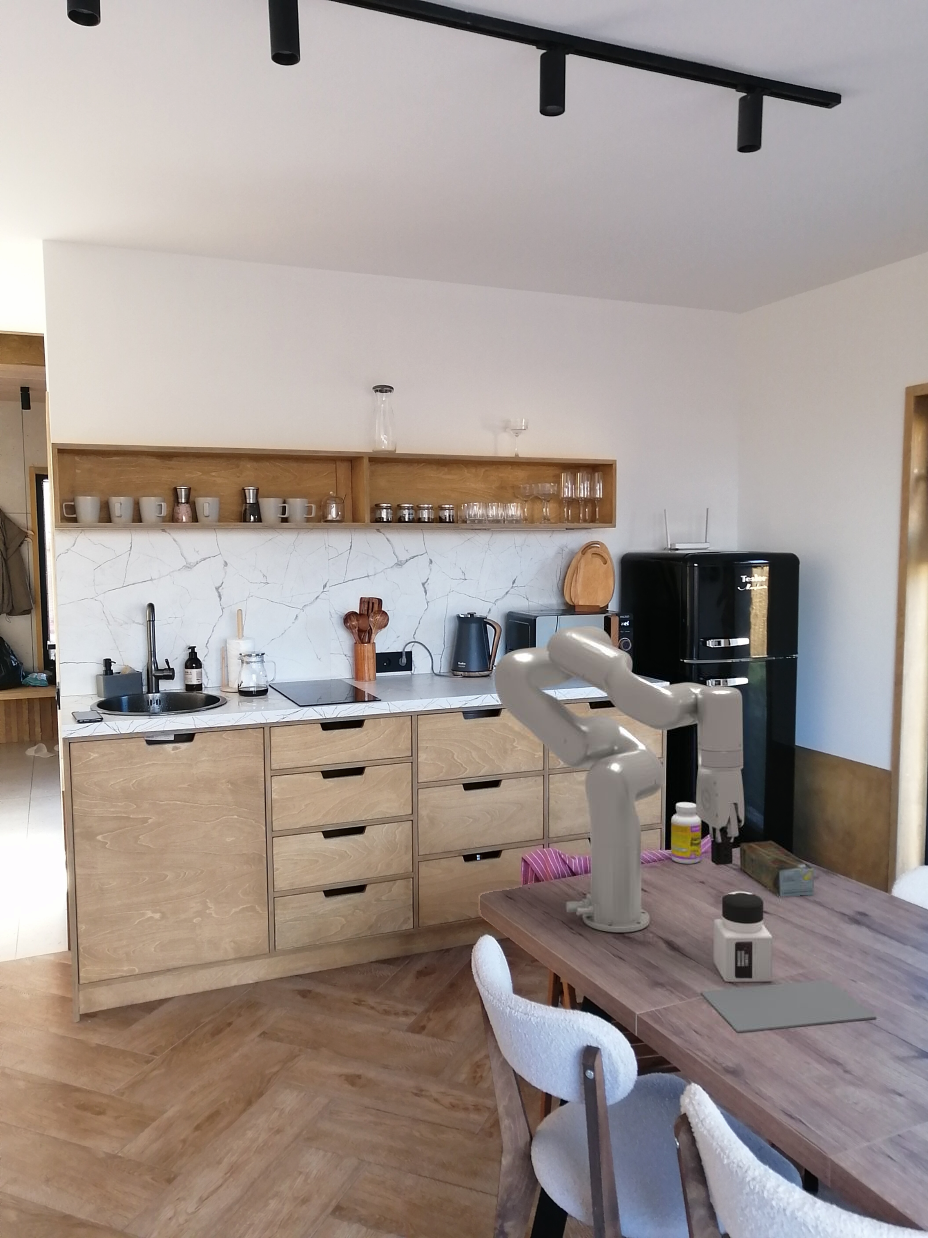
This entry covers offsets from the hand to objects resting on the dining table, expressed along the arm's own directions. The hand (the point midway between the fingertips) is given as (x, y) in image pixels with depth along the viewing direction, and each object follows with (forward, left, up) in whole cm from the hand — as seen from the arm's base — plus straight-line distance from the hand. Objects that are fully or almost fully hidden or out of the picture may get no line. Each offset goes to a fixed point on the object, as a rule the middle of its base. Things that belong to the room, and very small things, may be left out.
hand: (721, 863), depth 167 cm
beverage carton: (+27, +32, -16) cm, 45 cm away
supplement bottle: (+14, +50, -16) cm, 54 cm away
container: (0, -9, -16) cm, 18 cm away
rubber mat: (+1, -21, -16) cm, 26 cm away
